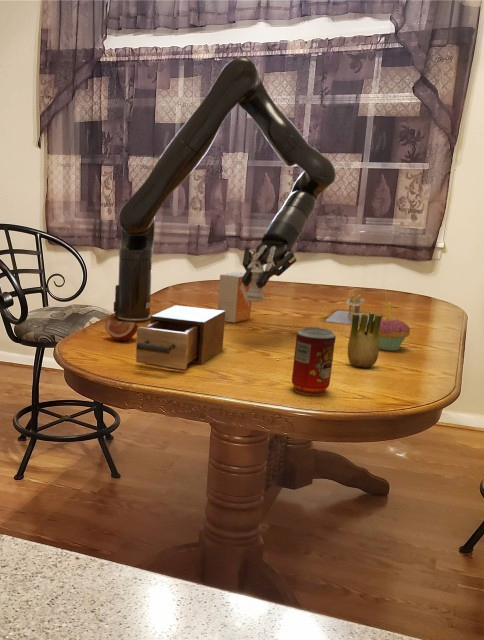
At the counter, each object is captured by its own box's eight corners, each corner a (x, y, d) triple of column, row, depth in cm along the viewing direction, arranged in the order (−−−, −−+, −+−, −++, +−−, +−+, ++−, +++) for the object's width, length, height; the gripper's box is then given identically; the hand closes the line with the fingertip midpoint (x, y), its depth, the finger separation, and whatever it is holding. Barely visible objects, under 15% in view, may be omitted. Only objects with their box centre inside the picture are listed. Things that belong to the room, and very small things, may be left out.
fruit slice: (100, 339, 174) (100, 320, 172) (114, 334, 179) (115, 315, 177) (128, 344, 169) (129, 324, 167) (142, 339, 174) (143, 320, 172)
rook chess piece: (265, 299, 167) (268, 266, 164) (264, 302, 163) (267, 269, 160) (246, 298, 168) (249, 265, 166) (244, 301, 164) (247, 268, 162)
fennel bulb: (343, 365, 152) (350, 312, 148) (352, 361, 155) (359, 309, 151) (370, 371, 148) (378, 316, 144) (378, 366, 151) (386, 312, 148)
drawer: (176, 375, 141) (178, 338, 139) (126, 367, 147) (127, 331, 144) (206, 355, 156) (208, 321, 154) (160, 348, 162) (161, 316, 159)
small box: (235, 323, 192) (238, 276, 188) (216, 319, 196) (219, 274, 192) (250, 319, 197) (254, 273, 193) (231, 315, 201) (235, 271, 197)
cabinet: (201, 364, 152) (204, 322, 149) (149, 356, 158) (150, 315, 155) (222, 350, 164) (225, 310, 161) (173, 343, 170) (175, 305, 167)
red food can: (317, 399, 130) (325, 336, 126) (283, 390, 135) (290, 329, 131) (335, 391, 134) (343, 330, 131) (302, 383, 139) (308, 324, 136)
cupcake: (390, 354, 161) (398, 303, 157) (360, 346, 168) (367, 297, 164) (414, 350, 165) (423, 300, 161) (384, 342, 172) (391, 294, 168)
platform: (324, 321, 194) (327, 298, 192) (337, 310, 209) (340, 289, 207) (369, 326, 188) (373, 302, 186) (379, 314, 203) (382, 292, 201)
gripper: (254, 217, 169) (221, 271, 166) (307, 221, 159) (272, 279, 155) (265, 237, 174) (232, 290, 171) (316, 242, 164) (282, 299, 160)
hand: (251, 284), depth 163 cm, fingers closed on rook chess piece, 3 cm apart
